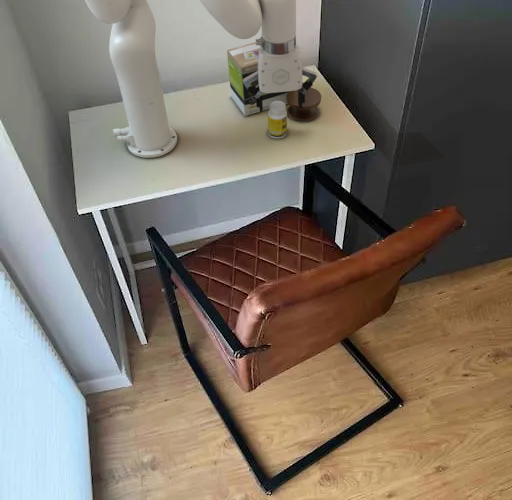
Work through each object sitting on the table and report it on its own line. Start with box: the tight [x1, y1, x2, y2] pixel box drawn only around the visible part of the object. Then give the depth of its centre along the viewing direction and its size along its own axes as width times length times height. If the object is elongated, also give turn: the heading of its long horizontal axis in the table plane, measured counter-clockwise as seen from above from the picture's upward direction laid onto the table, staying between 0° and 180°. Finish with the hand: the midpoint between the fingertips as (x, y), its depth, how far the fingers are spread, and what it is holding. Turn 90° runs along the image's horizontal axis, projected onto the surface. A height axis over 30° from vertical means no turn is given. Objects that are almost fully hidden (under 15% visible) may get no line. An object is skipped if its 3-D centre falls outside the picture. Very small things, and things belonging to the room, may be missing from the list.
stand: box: [286, 86, 322, 123], centre depth 151 cm, size 9×9×5 cm
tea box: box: [226, 41, 289, 117], centre depth 151 cm, size 15×10×15 cm
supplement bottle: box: [267, 101, 288, 139], centre depth 144 cm, size 5×5×8 cm
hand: (280, 107), depth 141 cm, fingers open, 9 cm apart
